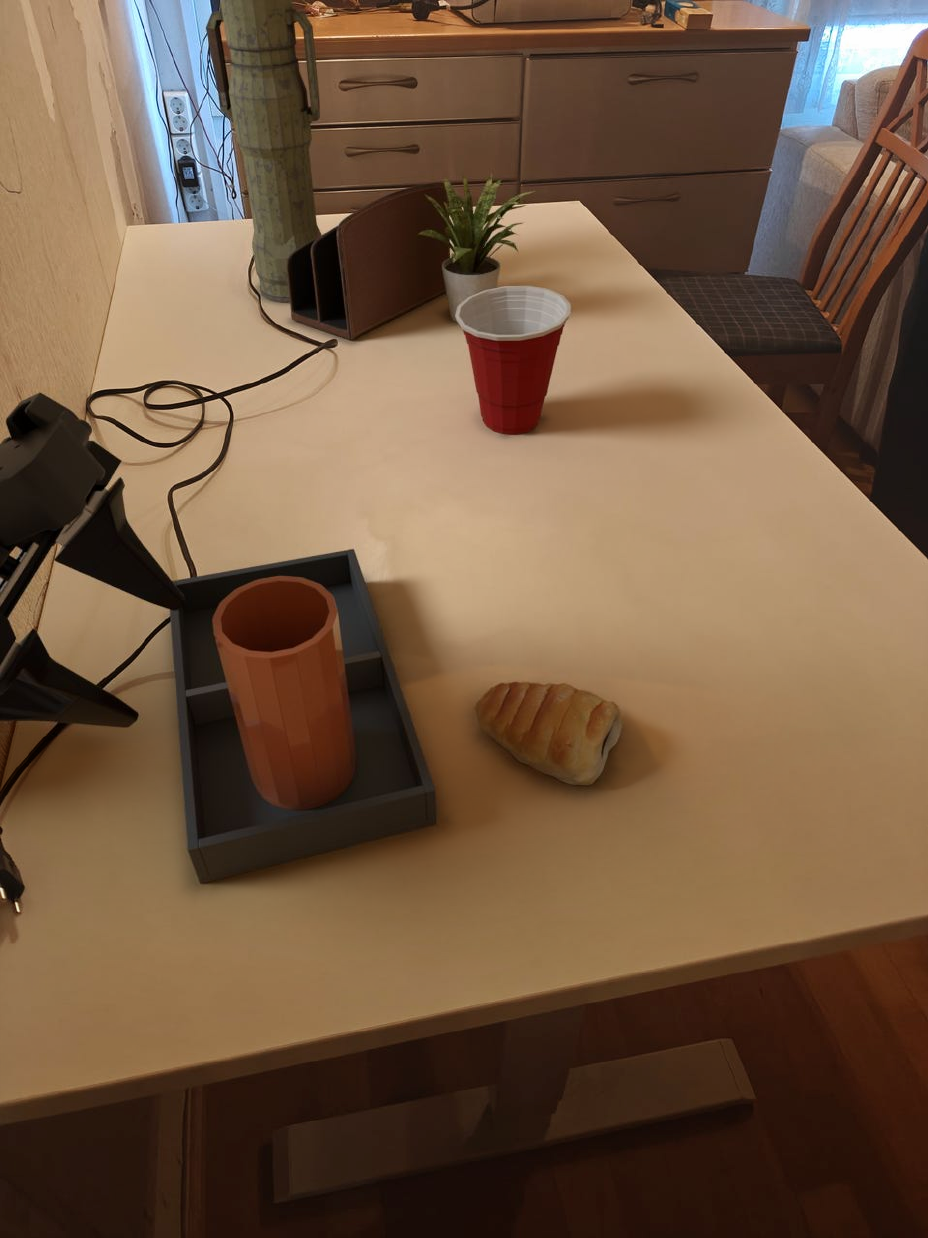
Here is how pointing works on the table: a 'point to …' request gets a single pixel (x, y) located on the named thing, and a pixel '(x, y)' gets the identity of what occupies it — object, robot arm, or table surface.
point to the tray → (214, 754)
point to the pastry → (552, 727)
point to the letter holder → (371, 264)
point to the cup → (288, 689)
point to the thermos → (270, 126)
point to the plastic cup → (512, 351)
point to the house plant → (472, 241)
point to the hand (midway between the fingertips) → (159, 659)
